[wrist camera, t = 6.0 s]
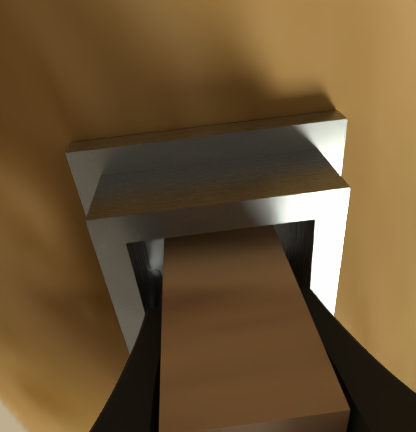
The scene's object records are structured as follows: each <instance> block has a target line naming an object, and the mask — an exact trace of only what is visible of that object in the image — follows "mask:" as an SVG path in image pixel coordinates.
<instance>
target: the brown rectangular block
mask: <svg viewBox="0 0 416 432" xmlns="http://www.w3.org/2000/svg"><path fill="white" fill-rule="evenodd" d="M349 414H350V408H349V405H348V403H347V401H346V398H345V396H344V394H343V391H342V389H341V386H340V384H339V382H338V379H337V377H336V374H335V372H334V370H333V367H332V365H331V362H330V360H329V358H328V355H327V353H326V350H325V348H324V346H323V343H322V341H321V338H320V336H319V334H318V331H317V329H316V327H315V324H314V322H313V319H312V317H311V315H310V312H309V310H308V307H307V305H306V303H305V300H304V298H303V295H302V293H301V291H300V288H299V286H298V283H297V281H296V279H295V276H294V274H293V271H292V269H291V267H290V264H289V262H288V260H287V257H286V255H285V252H284V250H283V248H282V245H281V243H280V240H279V238H278V236H277V233H276V231H275V228H274V226H273V225H266V226H258V227H250V228H242V229H234V230H226V231H218V232H210V233H202V234H194V235H186V236H178V237H171V238H164V252H163V291H162V329H161V367H160V405H159V432H346V430H347V425H348V420H349Z"/></svg>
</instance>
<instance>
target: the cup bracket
mask: <svg viewBox="0 0 416 432" xmlns="http://www.w3.org/2000/svg"><path fill="white" fill-rule="evenodd" d="M346 127H347V118H346V117H345V116H343V115H342V114H341V113H340V112H339V111H337V110H334V111H326V112H318V113H309V114H301V115H293V116H285V117H276V118H268V119H260V120H252V121H243V122H235V123H227V124H219V125H211V126H202V127H194V128H186V129H178V130H169V131H161V132H153V133H145V134H136V135H128V136H120V137H112V138H103V139H95V140H87V141H79V142H71V144H70V146H69V147H68V149H67V151H66V153H65V154H66V158H67V161H68V164H69V167H70V170H71V173H72V176H73V179H74V182H75V185H76V188H77V191H78V194H79V197H80V200H81V203H82V206H83V209H84V212H85V215H86V220H85V222H86V225H87V228H88V231H89V234H90V237H91V240H92V243H93V246H94V249H95V252H96V255H97V258H98V261H99V264H100V267H101V270H102V273H103V276H104V279H105V282H106V285H107V288H108V291H109V294H110V297H111V300H112V303H113V306H114V309H115V312H116V315H117V318H118V321H119V324H120V327H121V330H122V333H123V336H124V339H125V342H126V345H127V348H128V351H129V354H131V351H132V349H133V347H134V344H135V342H136V339H137V336H138V334H139V331H140V328H141V325H142V322H143V319H144V316H145V312H146V311H147V309H148V308H155V307H162V291H163V252H164V238H171V237H178V236H186V235H194V234H202V233H210V232H218V231H226V230H234V229H242V228H250V227H258V226H266V225H273V226H274V228H275V231H276V233H277V236H278V238H279V240H280V243H281V245H282V248H283V250H284V252H285V255H286V257H287V260H288V262H289V264H290V267H291V269H292V271H293V274H294V276H295V279H296V281H297V283H298V286H299V288H300V289H302V288H310V289H311V290H312V291H313V292H314V293H315V294H316V296H317V297H318V298H319V299H320V301H321V302H322V303H323V304H324V305H325V307H326V308H327V309H328V310H329V311H330V312H331V313H332V315H333V316H334V309H335V302H336V294H337V286H338V279H339V271H340V263H341V255H342V248H343V240H344V232H345V225H346V217H347V209H348V201H349V194H350V187H349V185H348V184H347V183H346V182H345V181H344V179H343V178H342V177H341V172H342V163H343V154H344V145H345V136H346Z"/></svg>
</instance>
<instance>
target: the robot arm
mask: <svg viewBox="0 0 416 432" xmlns="http://www.w3.org/2000/svg"><path fill="white" fill-rule="evenodd" d="M300 291H301V293H302V295H303V298H304V300H305V303H306V305H307V307H308V310H309V312H310V315H311V317H312V319H313V322H314V324H315V327H316V329H317V331H318V334H319V336H320V338H321V341H322V343H323V346H324V348H325V350H326V353H327V355H328V358H329V360H330V362H331V365H332V367H333V370H334V372H335V374H336V377H337V379H338V382H339V384H340V386H341V389H342V391H343V394H344V396H345V398H346V401H347V403H348V405H349V408H350V414H349V420H348V425H347V430H346V432H416V393H415V392H414V391H412V390H411V389H410V388H409V387H407V386H406V385H405V384H404V383H402V382H401V381H400V380H399V379H398V378H397V377H395V376H394V375H393V374H392V373H391V372H389V371H388V370H387V369H386V368H385V367H384V366H383V365H382V364H381V363H379V362H378V361H377V360H376V359H375V358H374V357H373V356H372V355H371V354H370V353H369V352H368V351H367V350H366V349H365V348H364V347H363V346H362V345H361V344H360V343H359V342H358V341H357V340H356V339H355V338H354V337H353V336H352V335H351V334H350V333H349V332H348V331H347V330H346V329H345V328H344V327H343V326H342V325H341V324H340V322H339V321H338V320H337V319H336V318H335V317H334V316H333V315H332V313H331V312H330V311H329V310H328V309H327V308H326V307H325V305H324V304H323V303H322V302H321V301H320V299H319V298H318V297H317V296H316V294H315V293H314V292H313V291H312V290H311V289H310V288H302V289H300ZM161 329H162V307H155V308H148V309H147V311H146V312H145V316H144V319H143V322H142V325H141V328H140V331H139V334H138V336H137V339H136V342H135V344H134V347H133V349H132V351H131V354H130V356H129V358H128V360H127V363H126V365H125V367H124V369H123V372H122V374H121V376H120V378H119V380H118V382H117V384H116V386H115V387H114V389H113V391H112V393H111V395H110V397H109V399H108V401H107V403H106V405H105V406H104V408H103V410H102V412H101V413H100V415H99V417H98V418H97V420H96V422H95V423H94V425H93V427H92V428H91V430H90V431H89V432H159V405H160V367H161Z"/></svg>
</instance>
